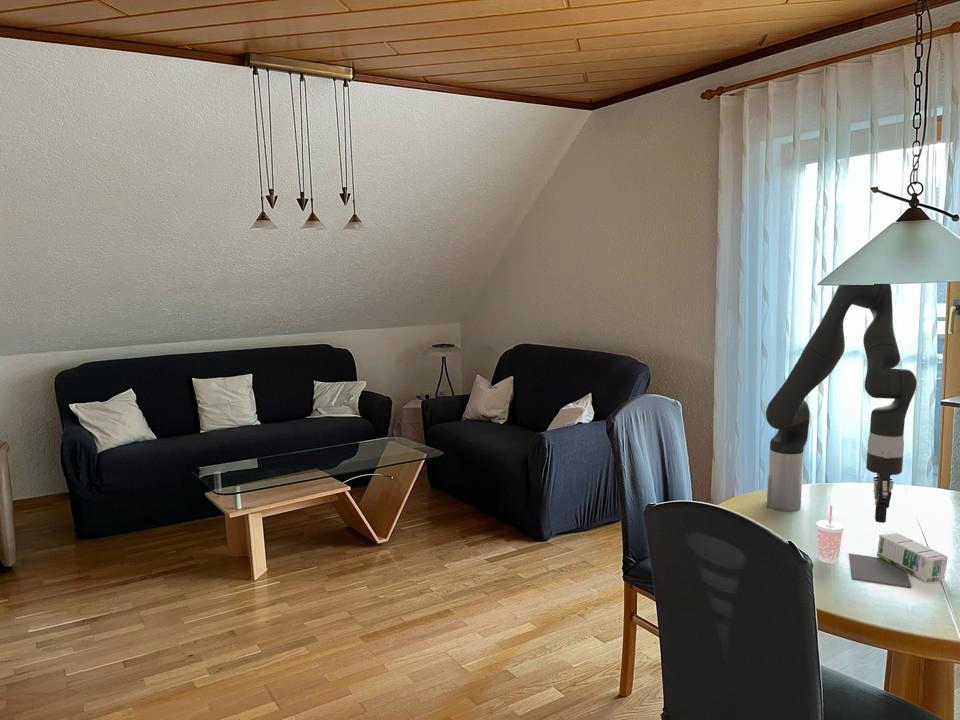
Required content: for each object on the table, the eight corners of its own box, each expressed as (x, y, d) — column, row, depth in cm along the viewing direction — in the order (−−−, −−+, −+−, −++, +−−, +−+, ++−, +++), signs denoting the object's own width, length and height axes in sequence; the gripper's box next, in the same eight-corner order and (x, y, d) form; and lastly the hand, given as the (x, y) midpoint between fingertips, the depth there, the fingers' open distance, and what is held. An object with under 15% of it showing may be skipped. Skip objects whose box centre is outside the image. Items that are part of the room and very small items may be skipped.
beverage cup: (815, 552, 186) (818, 499, 184) (842, 556, 183) (845, 503, 181) (813, 561, 181) (816, 507, 179) (841, 566, 178) (844, 511, 176)
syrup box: (878, 534, 181) (929, 559, 168) (897, 532, 183) (949, 556, 169) (875, 556, 182) (926, 582, 169) (894, 553, 184) (946, 580, 170)
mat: (851, 579, 171) (851, 577, 171) (848, 554, 185) (848, 553, 185) (911, 588, 166) (911, 586, 166) (903, 562, 180) (903, 560, 180)
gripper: (865, 443, 182) (860, 510, 185) (869, 457, 170) (864, 529, 173) (900, 446, 179) (895, 514, 182) (906, 460, 167) (901, 533, 170)
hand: (880, 521), depth 177 cm, fingers closed
